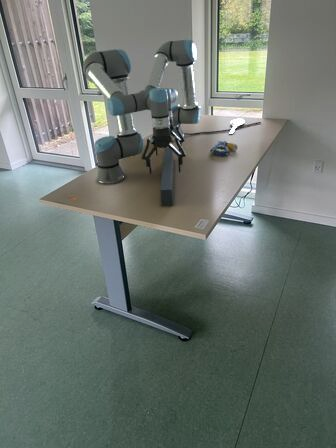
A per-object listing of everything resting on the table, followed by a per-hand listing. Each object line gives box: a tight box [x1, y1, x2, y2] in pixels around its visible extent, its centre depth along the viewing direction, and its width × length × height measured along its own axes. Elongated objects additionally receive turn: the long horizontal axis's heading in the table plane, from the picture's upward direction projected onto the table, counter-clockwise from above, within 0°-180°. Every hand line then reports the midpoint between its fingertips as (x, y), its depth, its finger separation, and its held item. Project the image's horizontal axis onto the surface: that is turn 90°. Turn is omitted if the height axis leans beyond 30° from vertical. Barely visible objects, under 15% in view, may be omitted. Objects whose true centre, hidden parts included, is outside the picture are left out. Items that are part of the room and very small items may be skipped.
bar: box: [159, 147, 175, 207], centre depth 181 cm, size 60×5×8 cm, turn 179°
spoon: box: [228, 118, 245, 135], centre depth 259 cm, size 35×11×2 cm, turn 159°
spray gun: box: [209, 140, 238, 157], centre depth 214 cm, size 21×4×15 cm
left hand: (165, 172), depth 156 cm, fingers open, 13 cm apart
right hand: (168, 154), depth 199 cm, fingers open, 13 cm apart
